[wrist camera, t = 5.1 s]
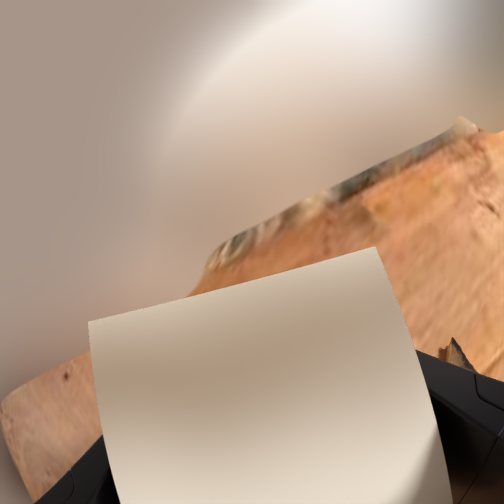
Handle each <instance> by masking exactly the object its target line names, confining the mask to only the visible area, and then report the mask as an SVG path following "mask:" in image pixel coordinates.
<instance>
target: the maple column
mask: <svg viewBox="0 0 504 504" xmlns="http://www.w3.org/2000/svg"><path fill="white" fill-rule="evenodd" d="M88 327H89V340H90V351H91V361H92V369H93V377H94V385H95V392H96V398H97V405H98V411H99V416H100V422H101V427H102V432H103V437H104V442H105V446H106V451H107V455H108V459H109V463H110V467H111V471H112V475H113V479H114V483H115V486H116V490H117V493H118V496H119V500H120V503H121V504H453V500H452V494H451V488H450V482H449V477H448V471H447V466H446V461H445V457H444V452H443V448H442V443H441V439H440V435H439V430H438V426H437V422H436V419H435V415H434V411H433V407H432V404H431V400H430V396H429V393H428V389H427V386H426V383H425V379H424V376H423V373H422V370H421V366H420V363H419V360H418V357H417V354H416V351H415V348H414V345H413V342H412V339H411V336H410V334H409V331H408V328H407V325H406V322H405V320H404V317H403V314H402V311H401V309H400V306H399V304H398V301H397V298H396V296H395V293H394V291H393V288H392V286H391V283H390V281H389V278H388V276H387V273H386V271H385V269H384V266H383V264H382V262H381V259H380V257H379V255H378V252H377V250H376V248H375V246H374V247H370V248H367V249H363V250H360V251H357V252H353V253H350V254H346V255H343V256H339V257H336V258H332V259H329V260H325V261H322V262H318V263H315V264H311V265H308V266H304V267H300V268H297V269H293V270H290V271H286V272H282V273H279V274H275V275H271V276H268V277H264V278H260V279H257V280H253V281H249V282H245V283H242V284H238V285H234V286H230V287H226V288H223V289H219V290H215V291H211V292H207V293H203V294H199V295H196V296H192V297H188V298H184V299H180V300H176V301H172V302H168V303H164V304H160V305H156V306H152V307H148V308H143V309H139V310H135V311H131V312H127V313H123V314H119V315H114V316H110V317H106V318H102V319H97V320H93V321H89V322H88Z"/></svg>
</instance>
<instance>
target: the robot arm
mask: <svg viewBox="0 0 504 504" xmlns="http://www.w3.org/2000/svg"><path fill="white" fill-rule="evenodd" d="M415 351H416V354H417V357H418V360H419V363H420V366H421V370H422V373H423V376H424V379H425V383H426V386H427V389H428V393H429V396H430V400H431V404H432V407H433V411H434V415H435V419H436V422H437V426H438V430H439V435H440V439H441V443H442V448H443V452H444V457H445V461H446V466H447V471H448V477H449V482H450V488H451V494H452V500H453V504H504V382H502V381H499V380H496V379H493V378H490V377H487V376H484V375H481V374H479V373H475V374H474V372H473V371H470V370H468V369H465V368H462V367H460V366H457V365H454V364H452V363H449V362H446V361H444V360H441V359H438V358H436V357H433V356H431V355H428V354H425V353H423V352H420V351H418V350H415ZM34 504H121V503H120V500H119V496H118V493H117V490H116V486H115V483H114V479H113V475H112V471H111V467H110V463H109V459H108V455H107V451H106V446H105V442H104V437H103V435H102V436H101V437H100V438H99V439H98V440H97V441H96V442H95V443H94V444H93V445H92V446H91V447H90V448H89V450H88V451H87V452H86V453H85V454H84V455H83V456H82V457H81V458H80V459H79V460H78V461H77V462H76V463H75V464H74V465H73V467H72V468H71V470H69V471H68V472H67V473H66V474H65V475H64V476H63V477H62V478H61V479H60V480H59V481H58V482H57V483H56V484H55V485H54V486H53V487H52V488H51V489H50V490H49V491H48V492H47V493H45V494H44V495H43V496H42V497H41V498H40V499H39V500H38V501H36V502H35V503H34Z"/></svg>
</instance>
